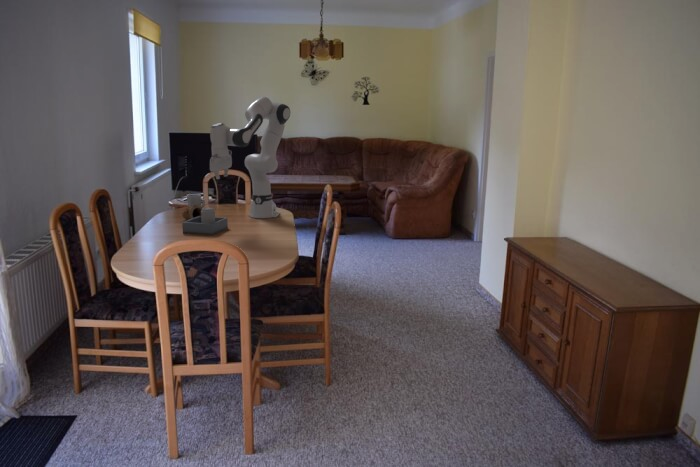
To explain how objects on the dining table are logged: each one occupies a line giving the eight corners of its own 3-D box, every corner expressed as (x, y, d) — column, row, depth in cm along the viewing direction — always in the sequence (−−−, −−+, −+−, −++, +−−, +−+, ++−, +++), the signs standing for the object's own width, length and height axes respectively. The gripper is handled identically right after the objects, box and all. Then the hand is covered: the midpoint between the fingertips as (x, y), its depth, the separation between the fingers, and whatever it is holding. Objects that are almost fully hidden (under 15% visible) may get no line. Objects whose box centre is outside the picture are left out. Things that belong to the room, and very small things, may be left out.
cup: (201, 211, 367) (200, 193, 364) (206, 213, 360) (205, 195, 357) (185, 213, 361) (184, 194, 358) (190, 215, 354) (189, 196, 351)
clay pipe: (178, 229, 332) (199, 223, 327) (172, 212, 330) (193, 205, 325) (194, 222, 349) (214, 216, 345) (188, 206, 347) (208, 199, 343)
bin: (199, 226, 322) (198, 216, 321) (227, 228, 318) (227, 217, 317) (182, 233, 305) (182, 222, 304) (213, 235, 301) (212, 224, 300)
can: (201, 230, 306) (200, 209, 304) (202, 227, 314) (201, 206, 311) (215, 230, 308) (214, 209, 305) (216, 227, 315) (215, 206, 312)
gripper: (216, 155, 300) (218, 180, 304) (233, 151, 319) (234, 175, 323) (205, 155, 302) (208, 180, 305) (222, 151, 321) (224, 174, 324)
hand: (221, 177), depth 314 cm, fingers open, 8 cm apart
